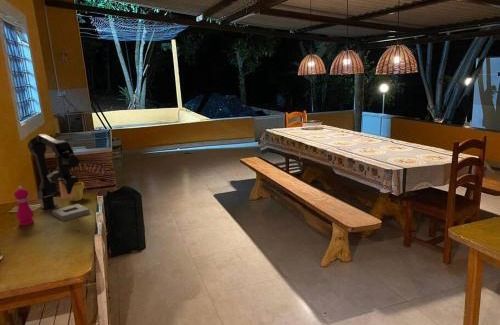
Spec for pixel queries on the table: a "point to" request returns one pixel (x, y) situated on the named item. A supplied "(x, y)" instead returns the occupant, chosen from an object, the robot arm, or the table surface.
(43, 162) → the robot arm
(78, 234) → the table surface
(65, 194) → the keyed peg
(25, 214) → the pink bowling pin
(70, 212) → the socket block
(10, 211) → the table surface
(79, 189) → the plant pot
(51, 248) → the table surface
